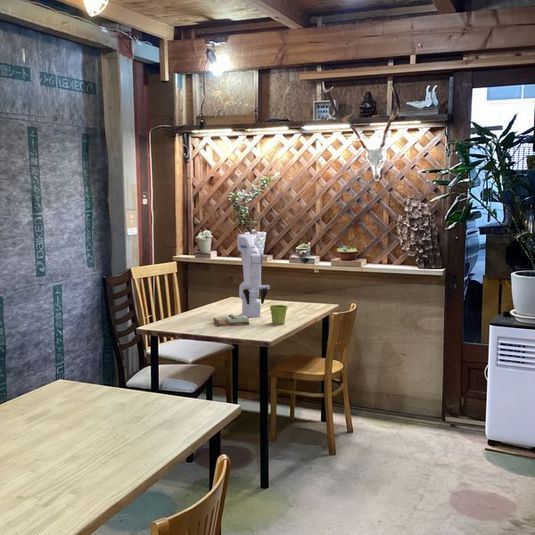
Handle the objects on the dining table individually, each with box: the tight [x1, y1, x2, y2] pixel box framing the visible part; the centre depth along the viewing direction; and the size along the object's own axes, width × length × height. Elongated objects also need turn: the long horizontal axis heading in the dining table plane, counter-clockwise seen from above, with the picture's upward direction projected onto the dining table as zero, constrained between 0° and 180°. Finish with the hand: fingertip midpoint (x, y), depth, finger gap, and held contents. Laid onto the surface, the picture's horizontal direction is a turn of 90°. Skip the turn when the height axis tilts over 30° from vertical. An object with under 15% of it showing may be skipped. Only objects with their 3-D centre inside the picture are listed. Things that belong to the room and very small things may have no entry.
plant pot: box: [269, 304, 289, 325], centre depth 308 cm, size 9×9×9 cm
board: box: [213, 314, 250, 327], centre depth 307 cm, size 16×9×4 cm, turn 107°
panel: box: [224, 315, 250, 323], centre depth 308 cm, size 10×8×2 cm
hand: (255, 303), depth 310 cm, fingers open, 7 cm apart
